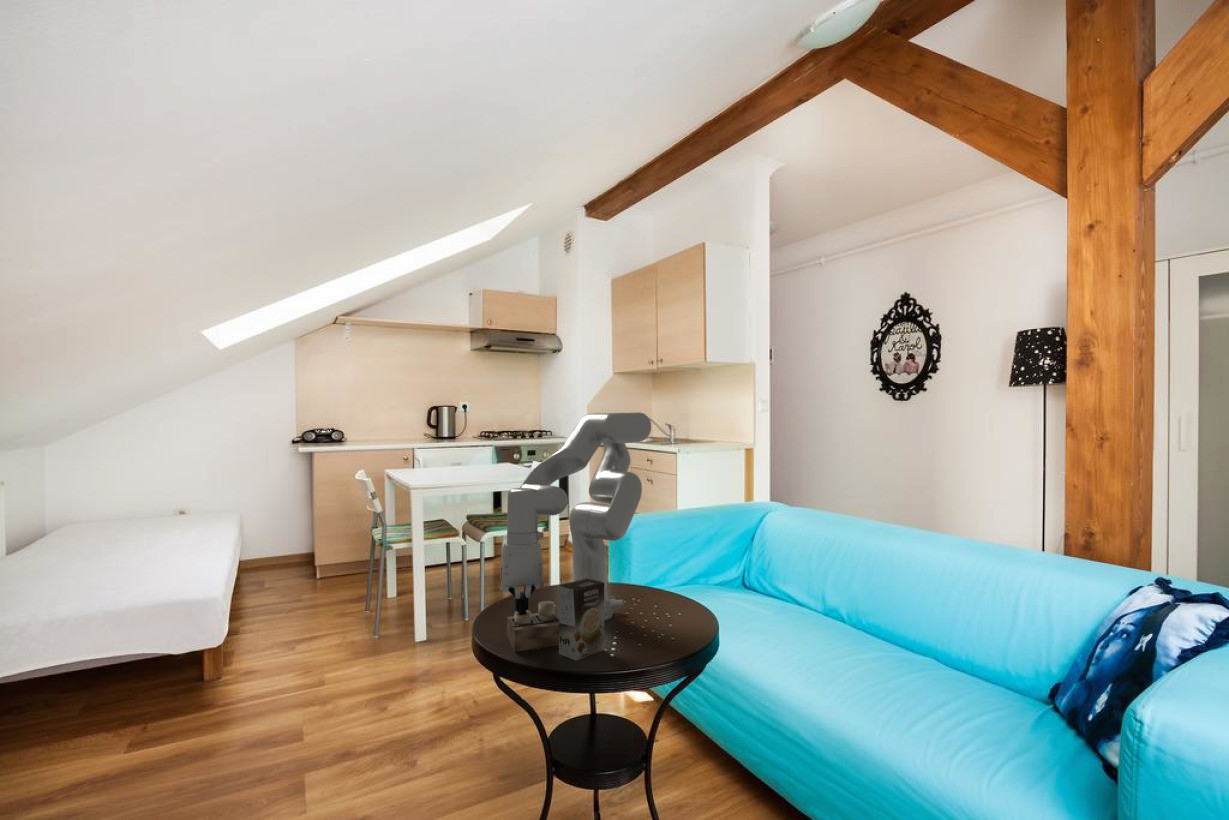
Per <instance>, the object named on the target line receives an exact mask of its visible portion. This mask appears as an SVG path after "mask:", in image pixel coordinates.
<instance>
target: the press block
mask: <svg viewBox="0 0 1229 820" xmlns="http://www.w3.org/2000/svg"><path fill="white" fill-rule="evenodd" d="M506 638H507V640H508V642H509V645H510V646H511V648H512V650H513V652H514V653H515V652H522V651H529V650H536V649H543V648H548V647H549V648H550V647H556V646H559V615H557V613H555V620H550V621H542V622H539V620H538V612H536V613H531V623H527V624H519V625H515V615H513V616H507V617H506Z"/></svg>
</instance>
